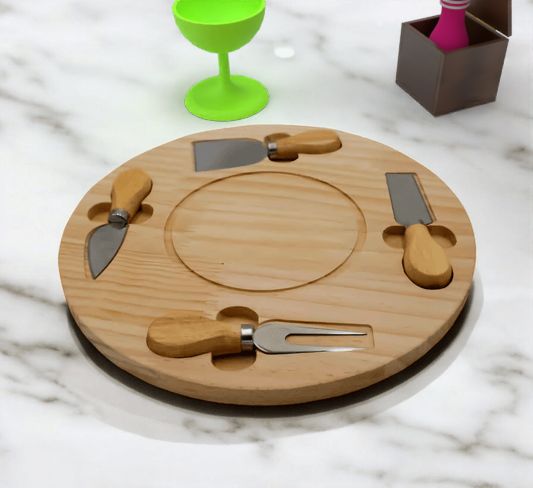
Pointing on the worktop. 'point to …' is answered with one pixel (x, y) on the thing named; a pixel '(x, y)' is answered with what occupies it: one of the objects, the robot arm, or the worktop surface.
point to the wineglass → (222, 55)
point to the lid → (493, 14)
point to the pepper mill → (451, 25)
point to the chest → (450, 66)
